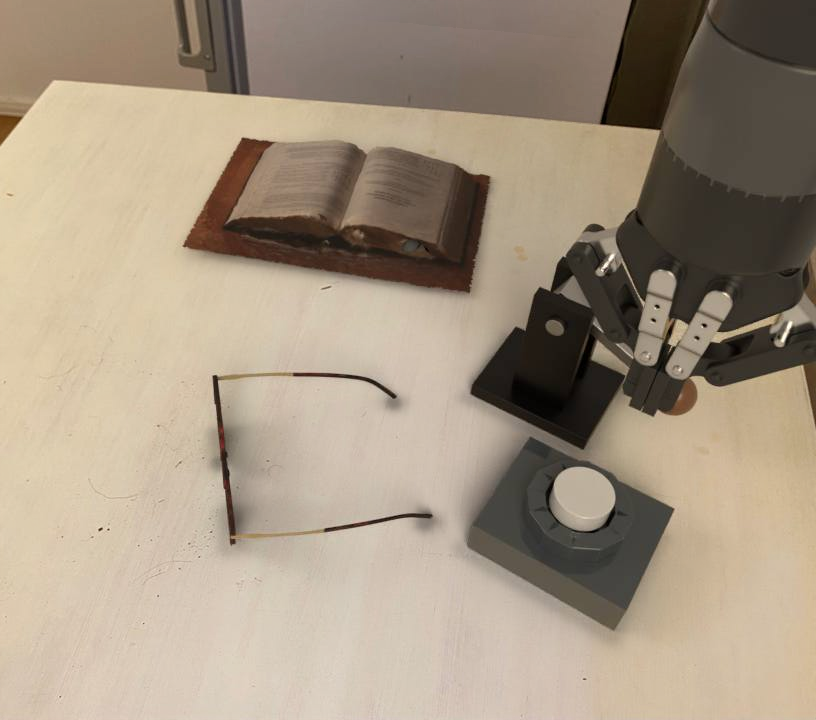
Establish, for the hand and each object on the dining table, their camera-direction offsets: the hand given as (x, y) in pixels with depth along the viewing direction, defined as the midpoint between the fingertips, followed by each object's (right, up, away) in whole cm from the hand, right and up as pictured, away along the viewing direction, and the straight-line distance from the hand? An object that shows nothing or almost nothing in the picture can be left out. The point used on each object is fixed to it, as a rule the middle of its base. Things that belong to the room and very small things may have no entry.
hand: (647, 401), depth 46 cm
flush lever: (+3, +2, +15) cm, 16 cm away
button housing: (-1, -11, +13) cm, 16 cm away
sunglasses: (-19, -6, +17) cm, 26 cm away
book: (-17, +17, +38) cm, 45 cm away
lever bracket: (0, 0, +22) cm, 22 cm away
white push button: (-1, -7, +9) cm, 12 cm away
